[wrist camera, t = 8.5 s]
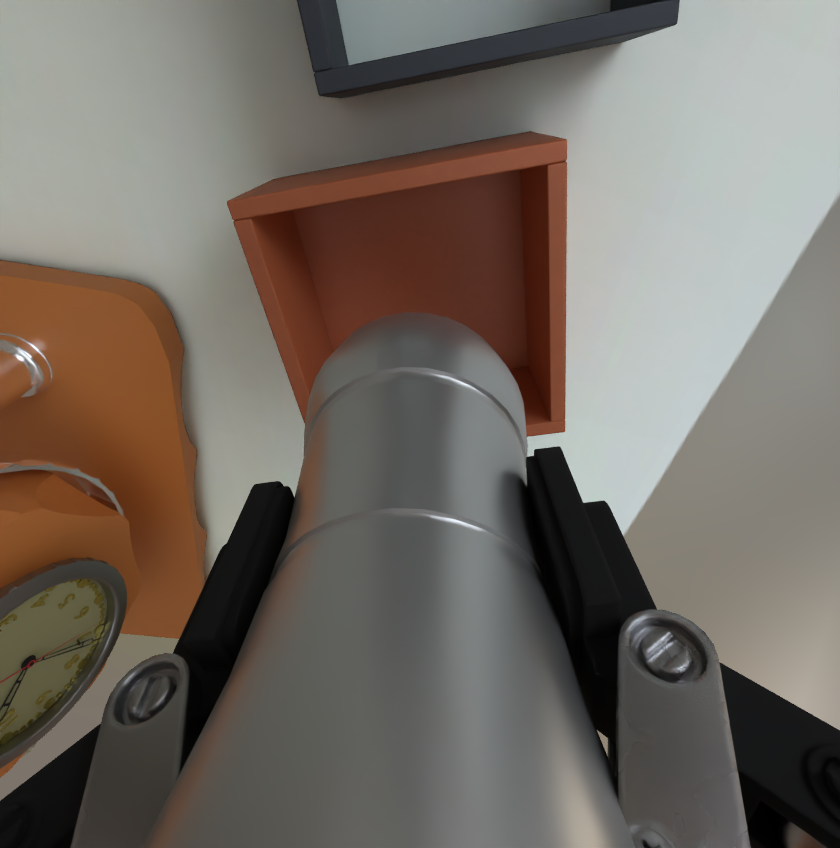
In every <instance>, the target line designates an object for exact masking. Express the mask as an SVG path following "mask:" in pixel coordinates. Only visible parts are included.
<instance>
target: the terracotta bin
mask: <svg viewBox="0 0 840 848" xmlns="http://www.w3.org/2000/svg"><path fill="white" fill-rule="evenodd" d="M566 159H567V140H566V139H562V138H558V137H553V136H549V135H544V134H540V133H535V132H531V131H529V132H524V133H518V134H513V135H508V136H502V137H497V138H491V139H486V140H481V141H475V142H470V143H465V144H459V145H454V146H448V147H443V148H438V149H432V150H427V151H422V152H416V153H411V154H405V155H400V156H395V157H389V158H384V159H379V160H373V161H368V162H363V163H357V164H352V165H346V166H341V167H336V168H330V169H325V170H320V171H314V172H309V173H303V174H298V175H293V176H287V177H282V178H277V179H273V180H271V181H269V182H267V183H265V184H262V185H260V186H258V187H256V188H254V189H252V190H250V191H248V192H245V193H243V194H241V195H239V196H237V197H235V198H233V199H231V200H229V201H227V205H228V208H229V211H230V213H231V216H232V219H233V220H235V221H233V223H234V226H235V228H236V231H237V234H238V237H239V240H240V243H241V245H242V248H243V251H244V254H245V257H246V259H247V262H248V265H249V268H250V271H251V274H252V276H253V279H254V282H255V285H256V288H257V290H258V293H259V296H260V299H261V302H262V305H263V307H264V310H265V313H266V316H267V319H268V322H269V324H270V327H271V330H272V333H273V336H274V338H275V341H276V344H277V347H278V350H279V353H280V355H281V358H282V361H283V364H284V367H285V369H286V372H287V375H288V378H289V381H290V384H291V386H292V389H293V392H294V395H295V398H296V400H297V403H298V406H299V409H300V412H301V415H302V417H303V420H304V423H305V420H306V414H307V408H308V401H309V396H310V393H311V389H312V386H313V383H314V380H315V377H316V376H317V374H318V372H319V371H320V369H321V367H322V366H323V364H324V362H325V361H326V360H327V359H328V358H329V357H330V355H331V354H332V353H333V352H334V351H335V350H336V349H337V348H338V347H339V346H340V345H341V344H342V343H343V342H344V341H345V340H346V339H347V338H348V337H349V336H350V335H351V334H352V333H353V332H355V331H356V330H358V329H359V328H361V327H362V326H364V325H365V324H367V323H369V322H371V321H374V320H377V319H379V318H382V317H384V316H388V315H394V314H400V313H405V312H411V313H429V314H434V315H438V316H443V317H447V318H449V319H452V320H454V321H456V322H459V323H461V324H463V325H465V326H467V327H468V328H470V329H471V330H473V331H474V332H475V333H477V334H478V335H480V336H481V337H482V338H483V339H484V340H485V341H486V342H487V343H488V344H489V345H490V346H491V347H492V348H493V349H494V350H495V352H496V353H497V354H498V355H499V357H500V358H501V359H502V361H503V362H504V363H505V364H506V366H507V367H508V369H509V371H510V372H511V374H512V376H513V377H514V379H515V380H516V382H517V384H518V387H519V390H520V393H521V396H522V399H523V402H524V412H525V422H526V434H527V437H528V436H536V435H544V434H552V433H559V432H565V374H566V229H567V162H565V161H566Z"/></svg>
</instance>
